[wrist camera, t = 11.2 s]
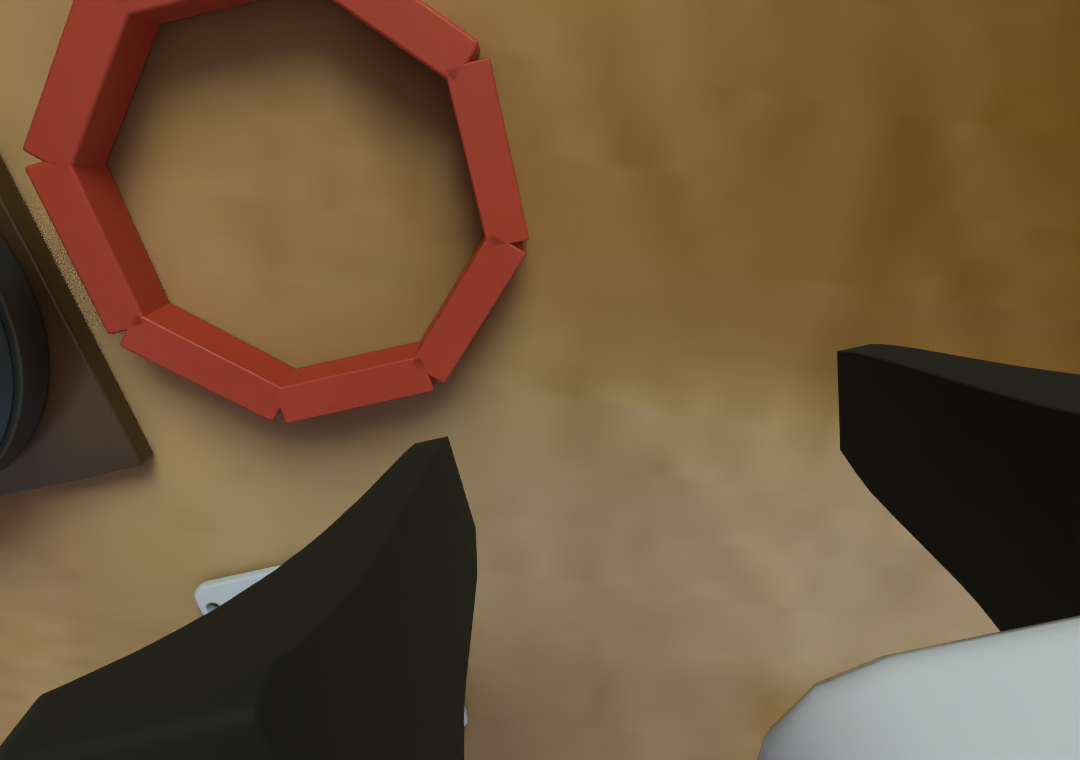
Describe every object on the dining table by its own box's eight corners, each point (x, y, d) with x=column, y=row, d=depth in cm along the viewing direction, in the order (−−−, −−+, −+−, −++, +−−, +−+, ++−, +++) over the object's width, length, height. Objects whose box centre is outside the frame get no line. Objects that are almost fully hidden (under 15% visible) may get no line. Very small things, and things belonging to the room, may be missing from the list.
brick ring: (552, 347, 21) (556, 364, 19) (189, 427, 21) (165, 450, 19) (454, -104, 16) (449, -127, 14) (-12, 9, 16) (-64, -3, 15)
